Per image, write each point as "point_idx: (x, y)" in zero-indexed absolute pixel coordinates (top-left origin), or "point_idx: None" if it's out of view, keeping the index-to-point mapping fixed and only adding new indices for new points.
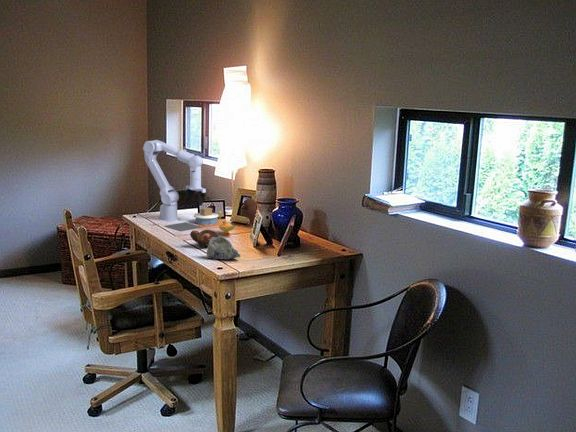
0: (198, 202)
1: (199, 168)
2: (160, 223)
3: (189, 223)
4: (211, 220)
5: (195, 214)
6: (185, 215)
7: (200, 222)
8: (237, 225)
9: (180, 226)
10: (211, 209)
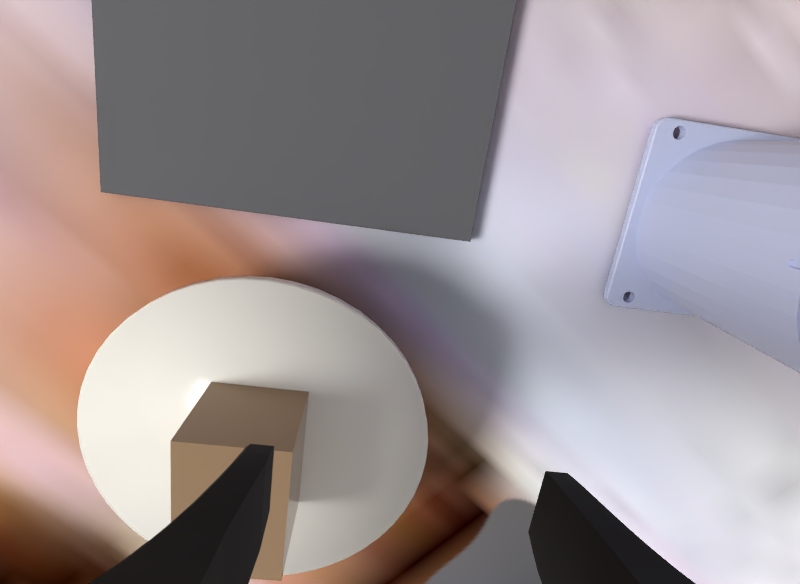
0: (221, 479)
1: None
2: (714, 3)
3: (382, 227)
4: None
5: (389, 374)
6: (713, 493)
7: None
8: None
9: (337, 7)
10: None
